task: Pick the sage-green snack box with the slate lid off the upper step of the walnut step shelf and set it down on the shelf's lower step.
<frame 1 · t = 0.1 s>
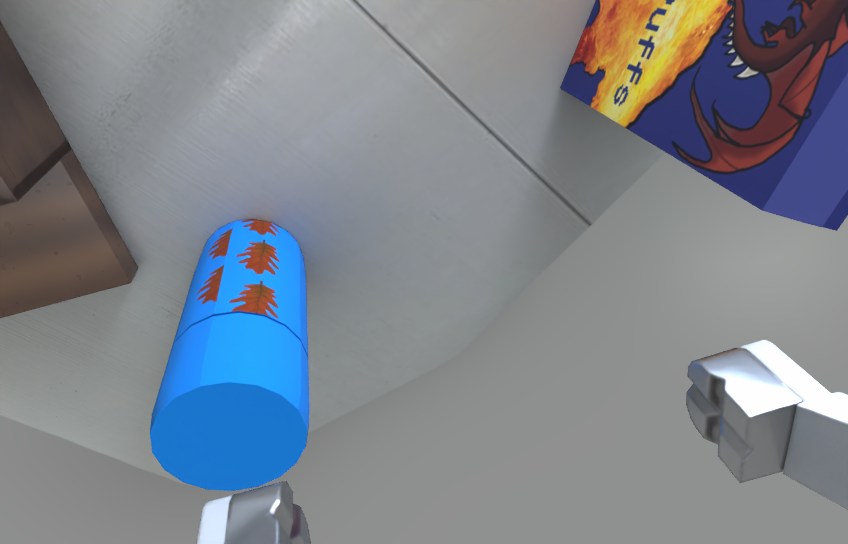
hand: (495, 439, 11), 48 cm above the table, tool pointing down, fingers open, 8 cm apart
thermos: (253, 262, 61), on the table
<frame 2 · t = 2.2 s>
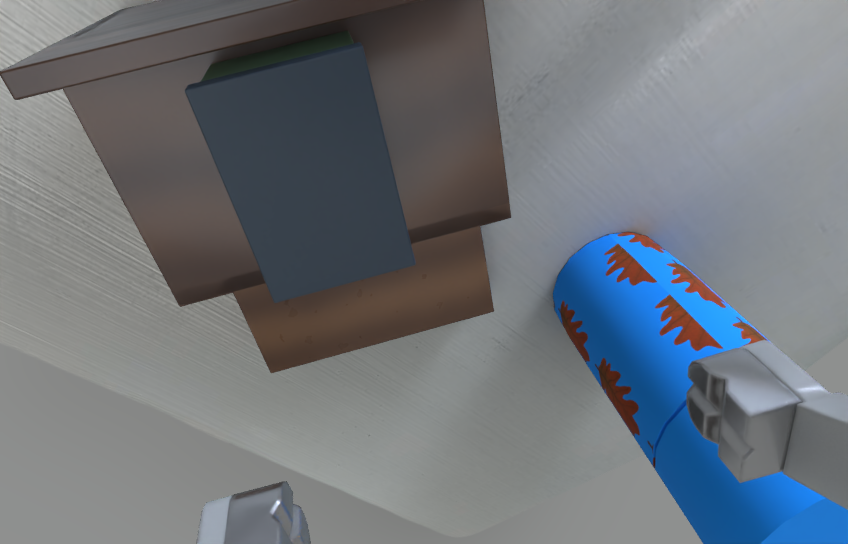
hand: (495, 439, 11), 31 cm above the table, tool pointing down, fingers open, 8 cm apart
thermos: (608, 284, 50), on the table
snack box: (311, 146, 27), point 12 cm above the table, touching step shelf
step shelf: (335, 176, 40), on the table
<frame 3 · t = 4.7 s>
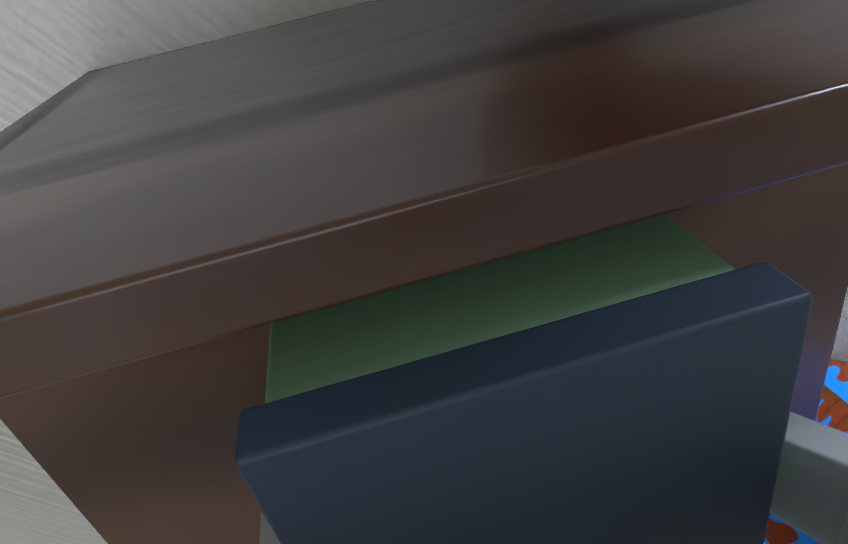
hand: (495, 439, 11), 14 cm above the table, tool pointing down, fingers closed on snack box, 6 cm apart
thermos: (785, 423, 36), on the table
snack box: (475, 382, 13), point 12 cm above the table, touching gripper, step shelf
step shelf: (428, 310, 26), on the table
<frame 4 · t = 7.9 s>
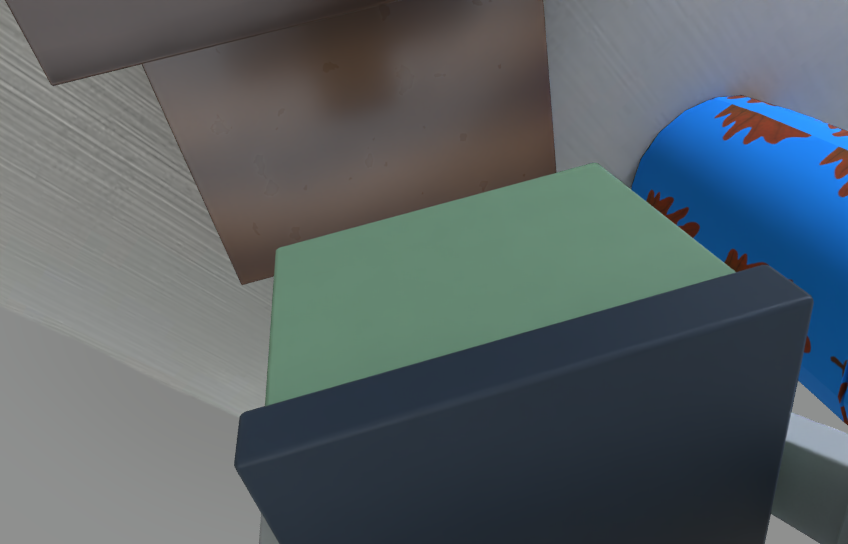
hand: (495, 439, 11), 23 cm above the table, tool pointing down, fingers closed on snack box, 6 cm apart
thermos: (705, 176, 37), on the table
snack box: (475, 383, 13), point 21 cm above the table, touching gripper
when the fingers open (5 cm above the table, at t = 11.4 s): snack box stays where it is, resting on step shelf.
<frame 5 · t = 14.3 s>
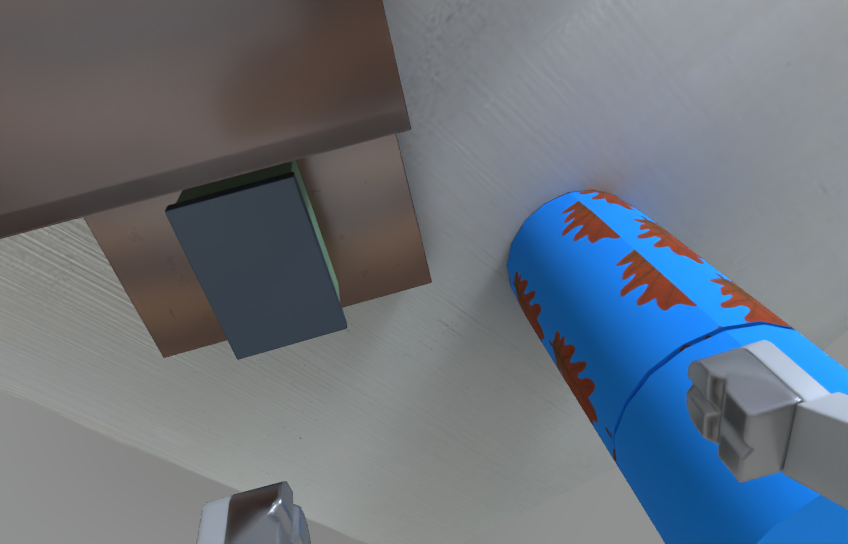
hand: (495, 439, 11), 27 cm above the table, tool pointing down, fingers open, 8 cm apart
thermos: (573, 255, 43), on the table
snack box: (268, 234, 34), point 3 cm above the table, touching step shelf
step shelf: (229, 114, 34), on the table
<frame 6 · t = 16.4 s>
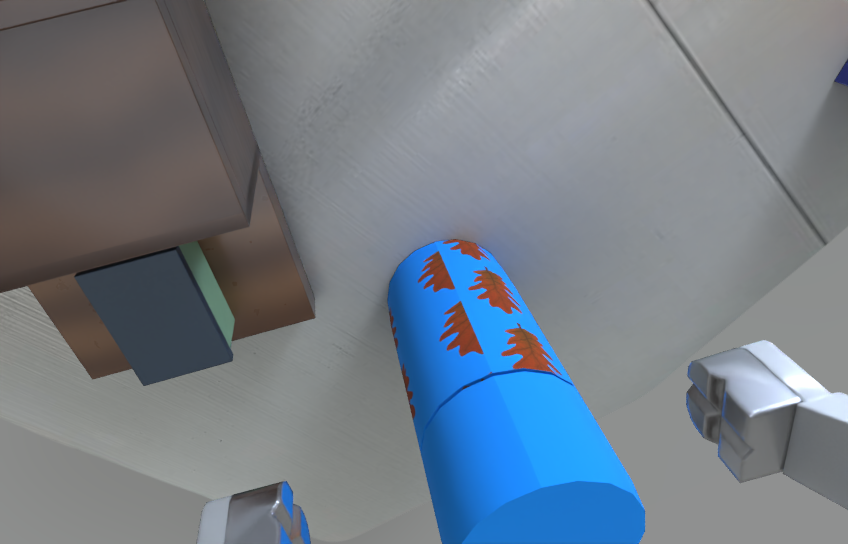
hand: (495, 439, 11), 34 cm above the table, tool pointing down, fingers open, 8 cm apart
thermos: (445, 290, 51), on the table
snack box: (172, 282, 42), point 3 cm above the table, touching step shelf
step shelf: (138, 186, 41), on the table
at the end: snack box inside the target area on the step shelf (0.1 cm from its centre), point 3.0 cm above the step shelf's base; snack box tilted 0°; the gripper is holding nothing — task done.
